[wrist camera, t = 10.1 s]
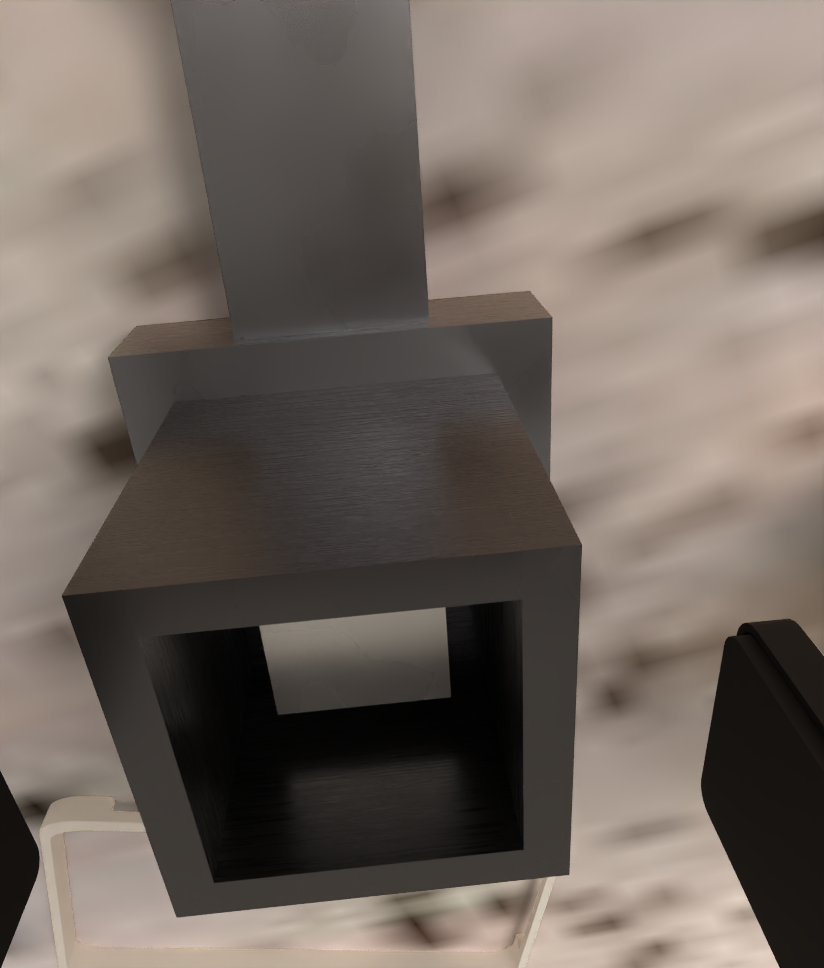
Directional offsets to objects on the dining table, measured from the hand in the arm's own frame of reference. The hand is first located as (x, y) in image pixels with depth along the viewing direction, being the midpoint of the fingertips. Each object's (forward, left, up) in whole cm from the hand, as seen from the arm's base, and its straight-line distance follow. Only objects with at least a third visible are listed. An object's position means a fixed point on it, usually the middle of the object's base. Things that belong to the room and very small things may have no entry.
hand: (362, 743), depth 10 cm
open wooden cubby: (+1, 0, -6) cm, 6 cm away
